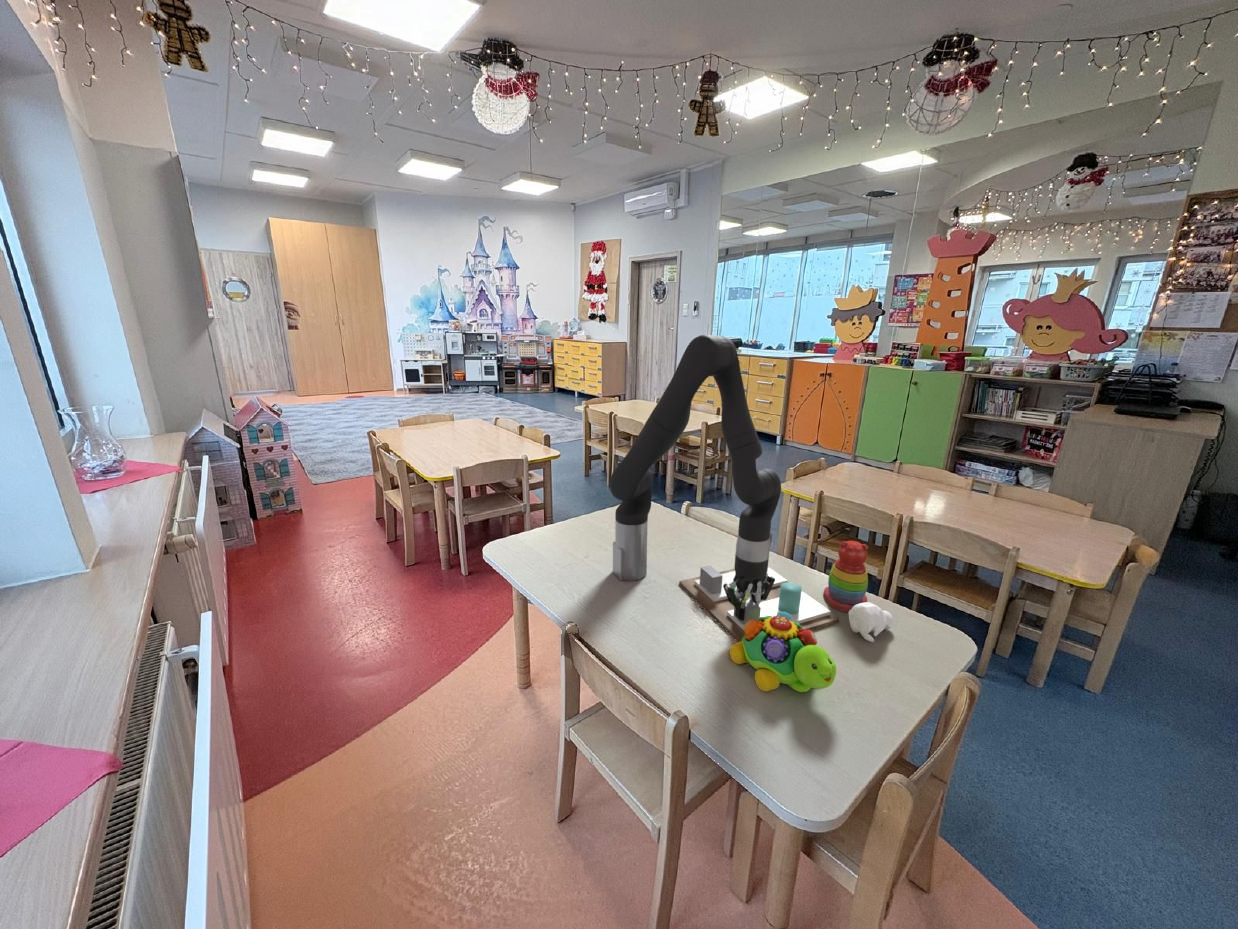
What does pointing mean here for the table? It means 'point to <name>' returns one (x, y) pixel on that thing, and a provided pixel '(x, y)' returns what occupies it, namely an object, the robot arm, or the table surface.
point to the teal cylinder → (789, 598)
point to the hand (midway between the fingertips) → (746, 617)
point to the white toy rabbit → (869, 619)
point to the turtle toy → (783, 654)
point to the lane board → (721, 607)
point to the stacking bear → (848, 577)
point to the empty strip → (724, 582)
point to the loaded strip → (770, 608)
